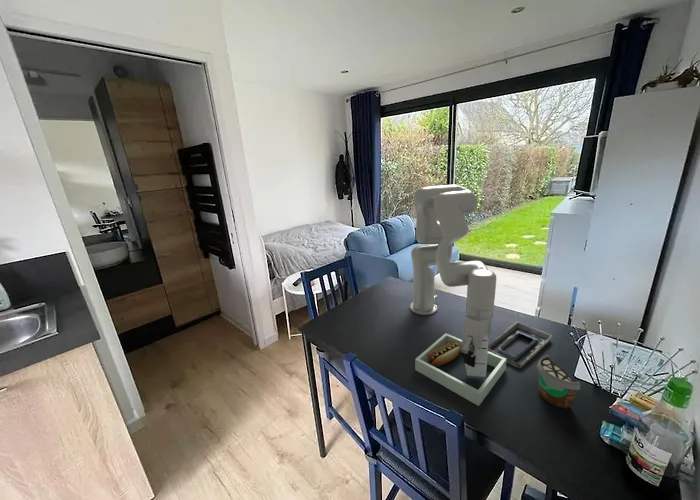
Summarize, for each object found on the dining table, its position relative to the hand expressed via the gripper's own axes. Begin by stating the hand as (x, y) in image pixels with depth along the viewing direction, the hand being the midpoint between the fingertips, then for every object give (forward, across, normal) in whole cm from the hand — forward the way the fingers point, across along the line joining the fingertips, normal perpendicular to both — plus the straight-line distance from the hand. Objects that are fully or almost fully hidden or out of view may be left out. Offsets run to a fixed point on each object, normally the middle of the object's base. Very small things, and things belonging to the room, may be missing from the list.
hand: (475, 357), depth 92 cm
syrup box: (+5, 0, 0) cm, 5 cm away
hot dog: (+8, -1, -11) cm, 14 cm away
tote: (+8, 0, -5) cm, 9 cm away
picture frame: (+8, -26, +5) cm, 28 cm away
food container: (+8, -7, +19) cm, 22 cm away
